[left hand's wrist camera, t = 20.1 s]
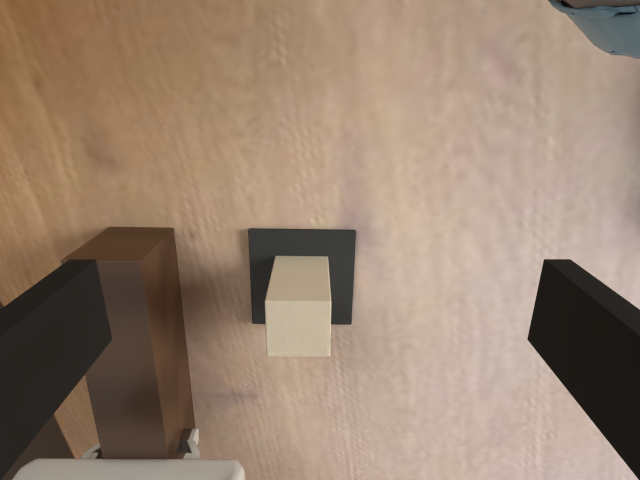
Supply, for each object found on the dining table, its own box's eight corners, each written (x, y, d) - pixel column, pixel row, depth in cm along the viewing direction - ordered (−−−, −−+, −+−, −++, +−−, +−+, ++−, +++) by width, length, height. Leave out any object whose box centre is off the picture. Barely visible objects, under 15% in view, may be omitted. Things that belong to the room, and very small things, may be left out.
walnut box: (109, 226, 39) (60, 260, 32) (173, 227, 40) (140, 261, 32) (144, 441, 48) (112, 507, 41) (196, 442, 48) (175, 507, 41)
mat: (249, 228, 40) (248, 230, 39) (355, 229, 40) (355, 231, 39) (253, 321, 43) (252, 323, 43) (350, 322, 43) (351, 324, 43)
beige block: (275, 255, 40) (264, 301, 32) (327, 255, 40) (331, 301, 32) (276, 302, 42) (266, 357, 33) (326, 302, 42) (329, 357, 33)
